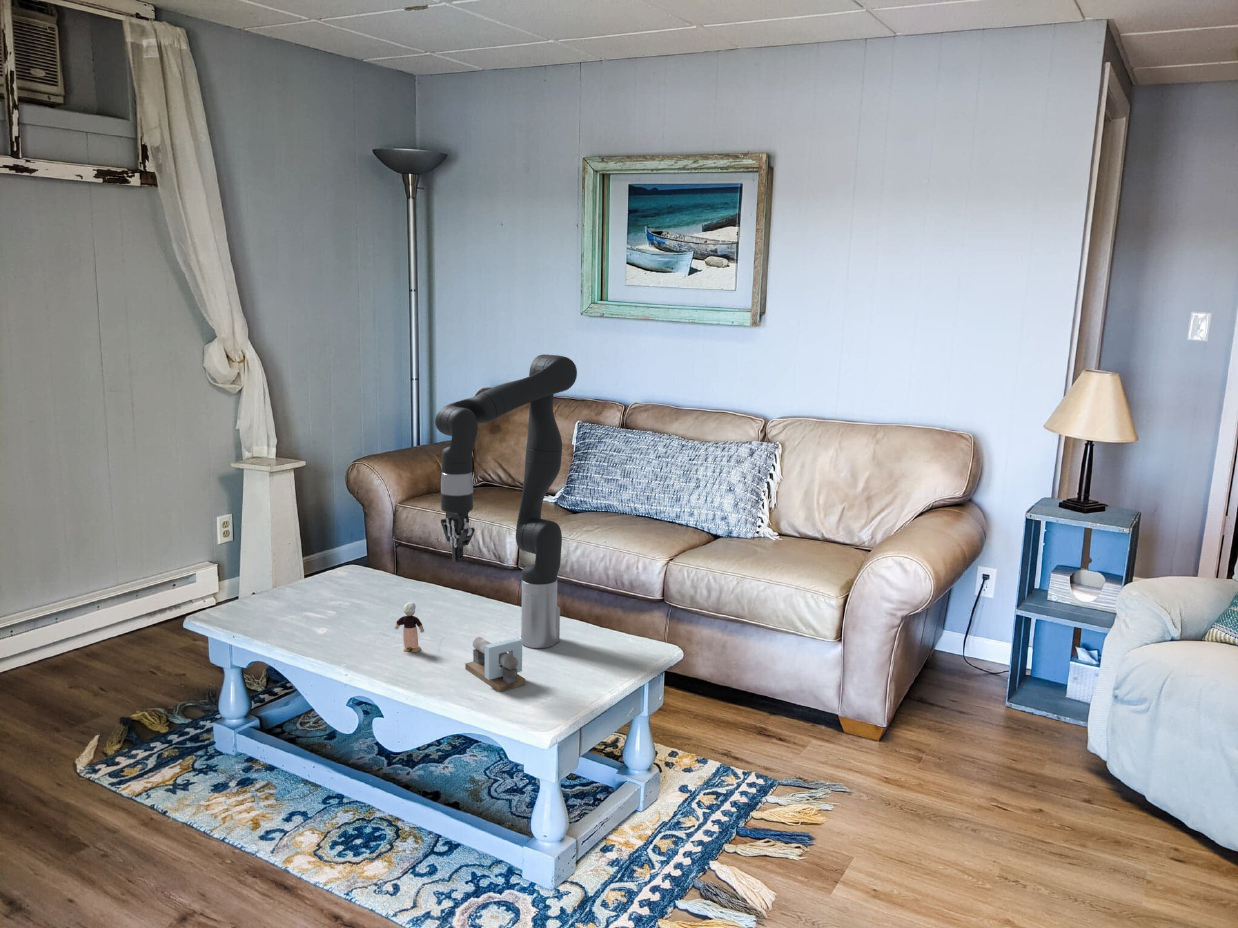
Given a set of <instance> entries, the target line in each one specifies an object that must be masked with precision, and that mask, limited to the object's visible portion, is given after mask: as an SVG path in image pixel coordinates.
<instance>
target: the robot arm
mask: <svg viewBox="0 0 1238 928" xmlns="http://www.w3.org/2000/svg"><path fill="white" fill-rule="evenodd" d="M577 377H578V368H577V366H576V363H575V362H574V361H573V360H572V359H570V358H569V357H567V356H563V355H558V354H557V355H556V354H555V355H554V354H540V355H537V356H536V357H535V358H533V360H532V362H531V364H530V367H529V373H528V376H527V377H523V378H521V379H515V380H513V381H509V382H505V383H501V384H499V385H496V386H493V387H491V388H489V389H486V390H485V391H483V392H480V393H478V394H477V395H475V396H472V397H469V398H464V399H460V400H459V401H458V400H457V401H454V402H452V403H449V404H446V405H445V406H443V407H442V408H440V409H439V411H438V412H437V414H436V415H435V419H434V424H435V428H436V430H438V431H439V432H440V433H441V434H443V435H445V436H450V437H451V441H450V446H447V447H445V448H444V449H442V452H441V478H440V508H441V511H443V512H444V513H445V518H442V519H440V524H441V527H442V530H443V533H444V536H445V539H446V542H449V543H450V546H451V554H452V555H451V559H452V561H453V562H455V563H461V562H463V561H464V547H466V546H469V544H470V542H471V540H472V539H473V536H474V534H475V531H476V529H475V527H473V526H472V527H471V526H470V518H469V514H470V512H471V511H472V510H473V509H474V478H473V460H472V459H473V456H472V454H473V451H474V447H475V444H476V440H477V435H478V429H479V424H487V423H491V422H492V421H495V420H496V419H498V418H500V417H502V416H505V415H506V414H507V413H510V412H512V411H513V410H516V409H518V408H520V407H522V406H525V405H527V404H529V407H528V408H529V409H528V423H527V424H528V425H527V439H526V446H525V456H524V457H525V459H524V473H523V475H524V476H523V483H522V492H521V493H522V494H521V500H520V505H519V510H518V511H519V512H518V516H517V521H516V528H515V542H516V546H517V547H518V548H519V549H520V550H521V551H523V552H527V553H530V554H534V555H535V559H534V560H535V561H534V564H529V565H526V566H525V567H524V568H523V569H522V571H521V617H520V618H521V619H520V620H521V623H520V624H521V627H520V628H521V630H520V632H521V633H520V634H521V635H520V637H521V638H520V639H521V640H522V646H525V647H526V648H532V649H546V648H550V647H553V646H554V645H556V644H557V643H560V639H561V638H560V635H561V633H560V630H561V627H560V626H561V608H560V606H558V575H559V571H560V569H561V558H562V557H561V556H562V543H563V535H562V529H561V526H560V525H559V524H558V523H557V522H556V521H552V520H549V519H544V518H542V508H543V502H544V499H545V496H546V494H547V492H548V491H549V489H550V488H551V486H552V485H553V483H554V482H555V480H556V478H557V477H558V476H559V473H560V469H561V466H562V458H563V457H562V456H563V441H562V436H561V433H560V430H559V427H558V424H557V422H556V419H555V413H554V395H556V394H560V393H564V392H566V391H567V390H569V389H571V387H573V386H574V384H575V383H576V381H577Z"/></svg>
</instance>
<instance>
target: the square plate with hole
mask: <svg viewBox="0 0 1238 928" xmlns="http://www.w3.org/2000/svg"><path fill="white" fill-rule="evenodd" d="M504 652H507V653H508V654H510V655H511V656H513V657H515V658H516V659H517V660H518V665H517V667H516V669H517V673H521V672H523V644H522V640H521V638H519V637H515V638H510V639H506V640H502V641H498V642H493V643H491V644H488V645H485V678H487V679H488V680H491V679H494V678H498V677H502V676H503V668H505V667H504V666H502V665H499V654H500V653H504Z"/></svg>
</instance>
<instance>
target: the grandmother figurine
mask: <svg viewBox="0 0 1238 928" xmlns="http://www.w3.org/2000/svg"><path fill="white" fill-rule="evenodd" d="M416 608H417V607H416V604H415V602H414V601H408V602H406V603H405V604H404V606H403V607H402V610H401V611H402V612H403V613H404V614H405V615H404V616H401V617H400V618H398V620H396V621H395V625H394V629H395V630H399V628H400V627H401V626H403V628H402V629H403V633H402V634H403V635H402V637H403V638H402V639H403V652H407V653H408V652H410V651H411V652H412V653H417V652H420V651H422V648H421V646H419V635H418V629H419V632H420V633H424V632H425V629H424V626H423V623H422V621H421V620H420V619H419V618H418V617H417V616H414V615H415V613H416Z"/></svg>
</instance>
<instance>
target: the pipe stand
mask: <svg viewBox="0 0 1238 928" xmlns="http://www.w3.org/2000/svg"><path fill="white" fill-rule="evenodd" d="M488 644H492V643H491V642H490V641H488V640H487V639H484V637H481V636H477V637H474V639H473V640H472V647H473V649H472V651H473V653H472V657H473V658H472V659H473V661H470V662H466V663H464V664H465V667H464V669H465V670H466V671H467V672H469V673H470V674H471V675H474V676H475V677H476V678H478V679H479V680H480V681H482V682H483V683H485V684H487V685H489V686H490V687H491V688H493V689H494V690H496V691H497V692H499V693H500V692H504V691H507V690H511V689H514V688H518V687H522V686H525V685H526V678H525V677H523V676H522V675H520V674H518V672H517V669H516V667H517V665H518V660H517V659H516V658H515V657H513V656H511V655H510V654H508V652H504V653H500V654H499V665H502V666H504V667H505V668H503V676H502V677H498V678H494V679H491V680H488V679H487V678H485V645H488Z"/></svg>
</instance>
